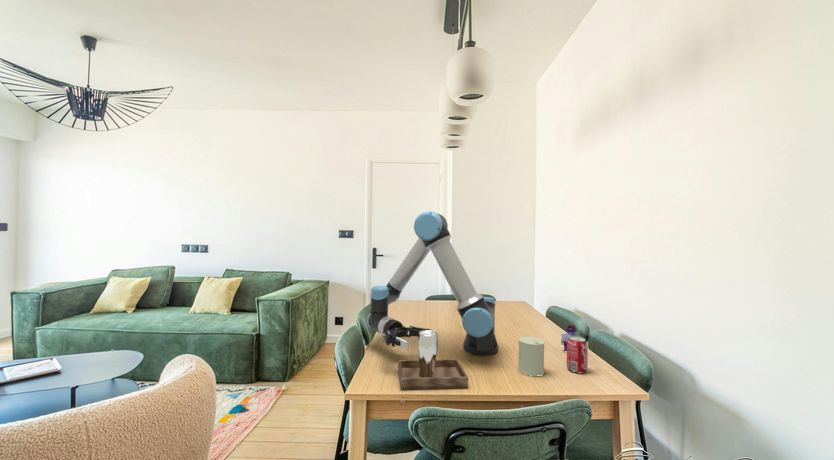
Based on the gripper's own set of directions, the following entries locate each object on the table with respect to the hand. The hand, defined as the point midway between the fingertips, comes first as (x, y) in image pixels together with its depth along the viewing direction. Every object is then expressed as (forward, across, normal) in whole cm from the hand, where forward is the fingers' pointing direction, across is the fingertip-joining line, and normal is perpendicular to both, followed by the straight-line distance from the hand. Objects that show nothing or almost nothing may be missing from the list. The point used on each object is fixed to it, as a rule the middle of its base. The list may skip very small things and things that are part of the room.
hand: (422, 342), depth 120 cm
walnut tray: (+5, 0, -11) cm, 12 cm away
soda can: (+30, -50, -11) cm, 60 cm away
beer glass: (+5, +2, -10) cm, 12 cm away
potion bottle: (+18, -68, -11) cm, 71 cm away
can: (+21, -35, -11) cm, 42 cm away
